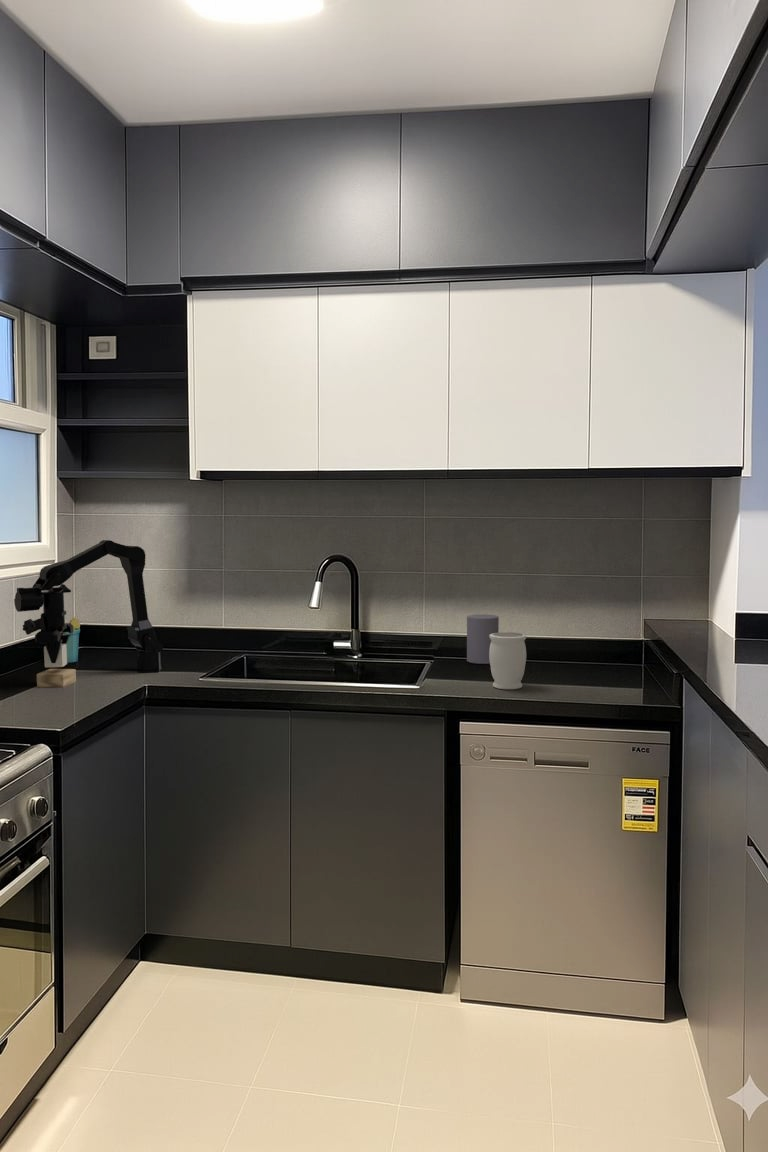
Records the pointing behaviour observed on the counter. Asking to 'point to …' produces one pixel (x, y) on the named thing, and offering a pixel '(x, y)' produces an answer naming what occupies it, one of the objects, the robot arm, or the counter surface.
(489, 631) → the container
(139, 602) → the robot arm
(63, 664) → the ceramic cube
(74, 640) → the cup
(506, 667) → the jar
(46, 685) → the oak block
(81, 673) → the counter surface
